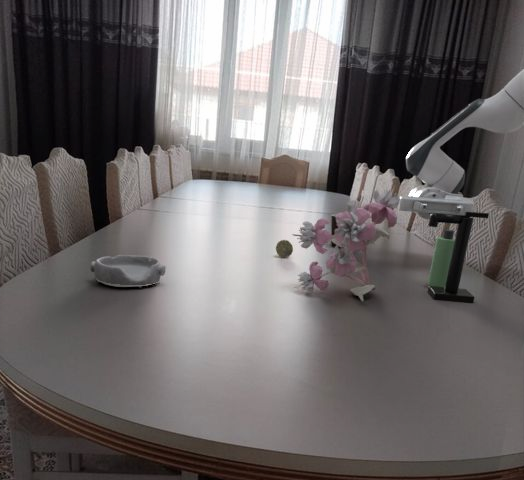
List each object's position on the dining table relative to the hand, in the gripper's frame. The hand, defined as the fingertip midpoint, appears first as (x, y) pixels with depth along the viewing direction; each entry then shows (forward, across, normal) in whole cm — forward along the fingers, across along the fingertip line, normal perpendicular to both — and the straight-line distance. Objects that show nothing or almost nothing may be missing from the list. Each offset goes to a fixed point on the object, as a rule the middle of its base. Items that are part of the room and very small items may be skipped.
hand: (441, 208), depth 138 cm
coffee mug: (-33, -21, +18) cm, 43 cm away
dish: (+35, -74, +18) cm, 84 cm away
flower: (+30, -28, +18) cm, 45 cm away
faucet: (+23, -2, +18) cm, 29 cm away
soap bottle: (+12, 0, +18) cm, 22 cm away
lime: (-7, -41, +18) cm, 45 cm away
